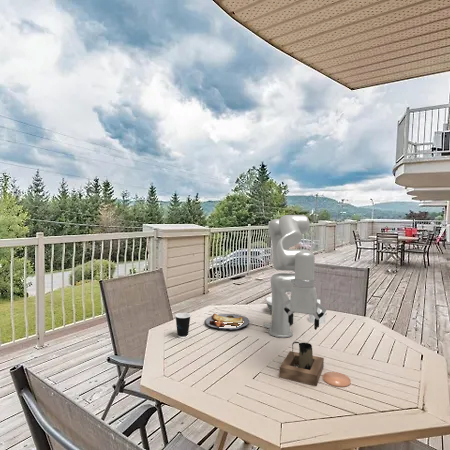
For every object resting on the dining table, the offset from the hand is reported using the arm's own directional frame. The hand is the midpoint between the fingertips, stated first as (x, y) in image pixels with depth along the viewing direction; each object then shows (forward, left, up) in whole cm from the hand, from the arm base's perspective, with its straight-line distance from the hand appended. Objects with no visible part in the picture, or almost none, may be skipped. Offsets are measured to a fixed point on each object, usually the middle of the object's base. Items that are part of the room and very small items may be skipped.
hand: (303, 326), depth 126 cm
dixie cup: (-62, +9, -19) cm, 66 cm away
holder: (0, 0, -18) cm, 18 cm away
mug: (0, 0, -19) cm, 19 cm away
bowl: (-29, +71, -19) cm, 79 cm away
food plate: (-50, +36, -19) cm, 65 cm away
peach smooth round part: (+13, 0, -18) cm, 22 cm away
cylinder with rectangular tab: (-5, +64, -19) cm, 67 cm away
